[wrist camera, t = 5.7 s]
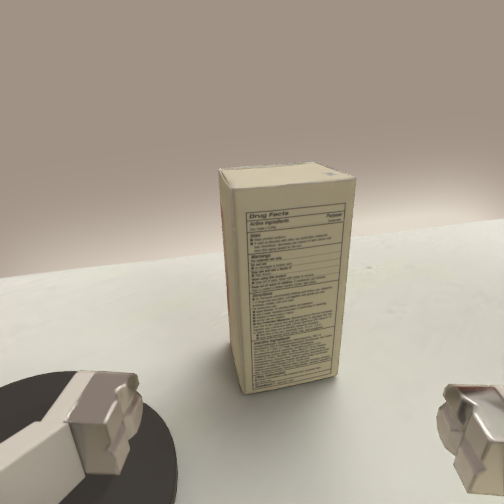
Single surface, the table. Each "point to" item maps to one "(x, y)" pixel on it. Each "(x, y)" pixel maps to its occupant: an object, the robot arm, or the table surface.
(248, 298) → the medicine box
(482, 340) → the table surface
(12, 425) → the black frying pan
